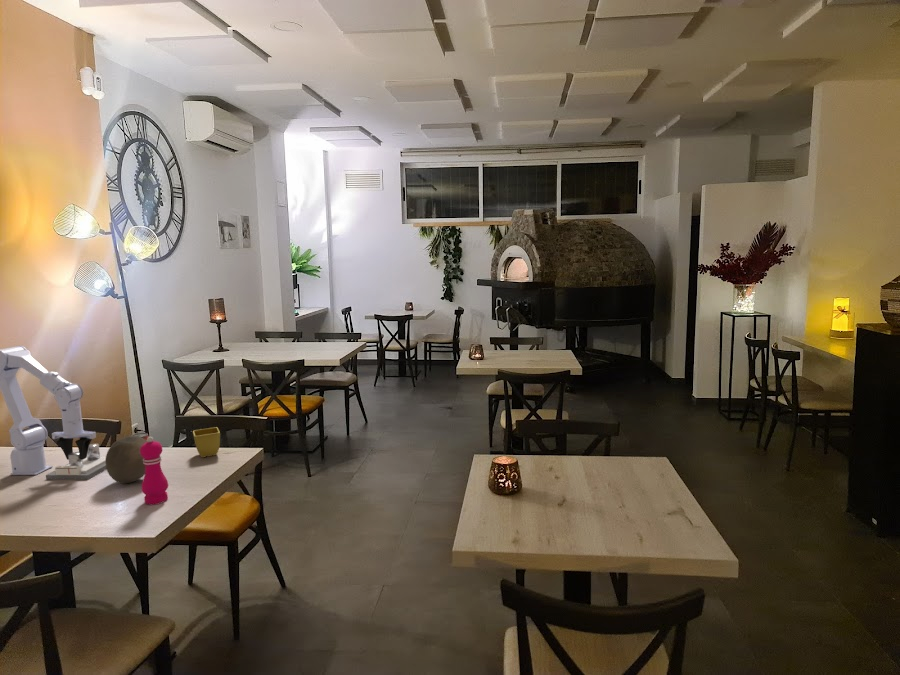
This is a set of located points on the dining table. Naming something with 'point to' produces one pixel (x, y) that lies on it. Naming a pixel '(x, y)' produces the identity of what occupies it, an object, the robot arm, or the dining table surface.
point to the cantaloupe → (126, 459)
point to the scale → (79, 470)
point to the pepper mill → (153, 473)
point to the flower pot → (207, 441)
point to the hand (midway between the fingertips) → (76, 458)
